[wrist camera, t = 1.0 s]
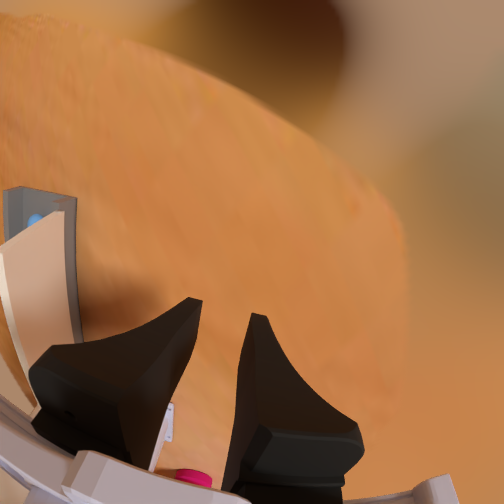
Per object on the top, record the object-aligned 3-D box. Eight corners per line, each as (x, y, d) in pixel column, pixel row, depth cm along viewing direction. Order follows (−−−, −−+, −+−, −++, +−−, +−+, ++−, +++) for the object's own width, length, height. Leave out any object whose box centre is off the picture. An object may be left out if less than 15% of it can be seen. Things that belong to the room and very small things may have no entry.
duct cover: (73, 364, 24) (79, 365, 24) (50, 428, 16) (58, 431, 16) (57, 209, 18) (65, 210, 18) (-7, 251, 10) (2, 253, 10)
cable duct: (85, 353, 27) (74, 366, 24) (34, 327, 27) (22, 337, 24) (77, 197, 21) (59, 203, 18) (20, 186, 21) (3, 190, 18)
